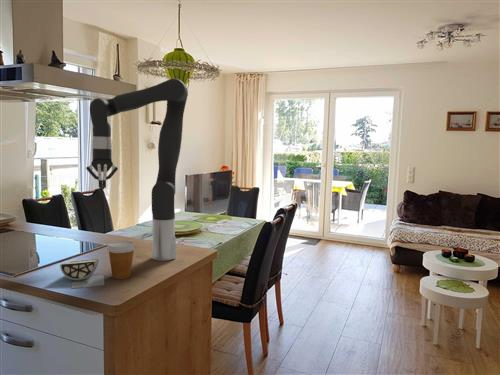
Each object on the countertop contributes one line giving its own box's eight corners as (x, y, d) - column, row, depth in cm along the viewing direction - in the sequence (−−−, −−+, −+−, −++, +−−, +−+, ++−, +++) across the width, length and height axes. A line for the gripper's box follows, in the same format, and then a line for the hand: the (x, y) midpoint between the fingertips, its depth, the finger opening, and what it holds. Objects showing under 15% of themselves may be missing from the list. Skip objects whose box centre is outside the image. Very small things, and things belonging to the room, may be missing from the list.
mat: (103, 275, 136) (103, 275, 136) (104, 285, 127) (104, 284, 127) (73, 278, 132) (73, 277, 132) (71, 288, 123) (71, 287, 123)
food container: (68, 278, 137) (58, 283, 127) (67, 261, 137) (58, 264, 127) (103, 275, 139) (97, 279, 129) (102, 258, 139) (96, 261, 130)
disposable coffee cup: (106, 273, 139) (106, 241, 138) (133, 270, 143) (133, 240, 142) (108, 281, 130) (108, 248, 129) (136, 278, 134) (136, 246, 133)
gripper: (84, 147, 150) (85, 190, 152) (119, 148, 155) (119, 189, 157) (85, 147, 157) (85, 188, 159) (118, 148, 162) (118, 188, 164)
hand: (102, 189), depth 158 cm, fingers closed
